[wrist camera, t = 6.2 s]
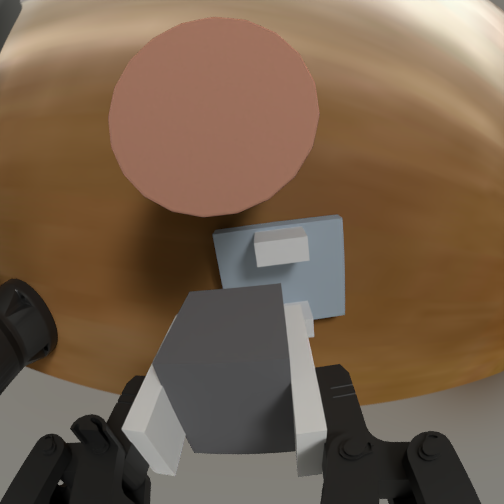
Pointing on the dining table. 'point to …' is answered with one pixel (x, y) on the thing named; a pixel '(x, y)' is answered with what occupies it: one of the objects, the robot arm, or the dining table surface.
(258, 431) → the dark gray block
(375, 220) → the dining table surface
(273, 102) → the coffee jar
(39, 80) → the dining table surface
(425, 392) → the dining table surface
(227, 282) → the board
